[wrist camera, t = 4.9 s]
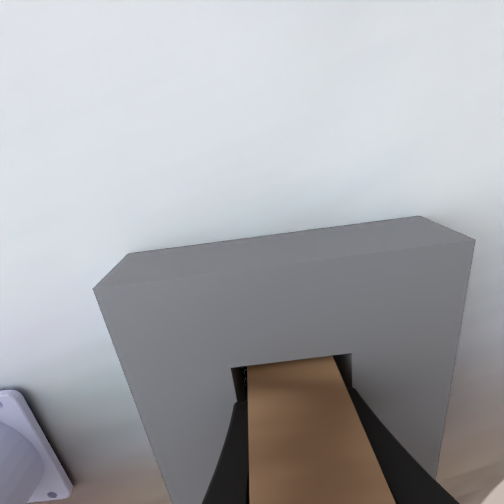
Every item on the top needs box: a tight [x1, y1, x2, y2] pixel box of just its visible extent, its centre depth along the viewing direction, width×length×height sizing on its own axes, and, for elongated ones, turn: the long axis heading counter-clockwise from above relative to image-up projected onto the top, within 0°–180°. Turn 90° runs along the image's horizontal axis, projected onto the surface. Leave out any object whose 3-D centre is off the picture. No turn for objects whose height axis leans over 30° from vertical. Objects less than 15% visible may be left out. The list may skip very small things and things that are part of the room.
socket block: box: [93, 216, 475, 504], centre depth 10 cm, size 12×14×9 cm
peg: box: [247, 356, 396, 504], centre depth 10 cm, size 3×3×8 cm
